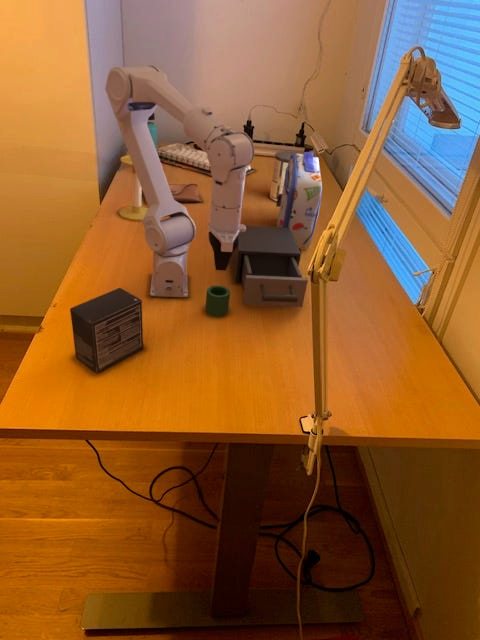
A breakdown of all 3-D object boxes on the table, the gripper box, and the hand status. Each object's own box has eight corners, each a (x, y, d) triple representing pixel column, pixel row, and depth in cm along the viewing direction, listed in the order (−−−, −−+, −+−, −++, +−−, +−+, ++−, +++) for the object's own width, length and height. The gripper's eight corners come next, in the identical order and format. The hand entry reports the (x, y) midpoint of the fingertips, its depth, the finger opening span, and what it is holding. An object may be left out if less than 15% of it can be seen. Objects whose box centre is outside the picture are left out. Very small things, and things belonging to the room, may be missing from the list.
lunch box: (274, 214, 151) (285, 141, 139) (307, 218, 151) (321, 145, 139) (273, 253, 128) (287, 169, 116) (313, 258, 128) (330, 175, 116)
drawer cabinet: (294, 286, 115) (301, 253, 110) (235, 283, 113) (238, 250, 108) (284, 257, 127) (289, 227, 122) (230, 255, 125) (233, 224, 120)
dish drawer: (307, 321, 101) (313, 294, 97) (245, 319, 99) (249, 291, 96) (290, 276, 117) (295, 251, 113) (237, 274, 115) (239, 248, 111)
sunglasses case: (146, 203, 147) (144, 180, 146) (142, 207, 154) (140, 185, 153) (204, 202, 153) (202, 180, 152) (198, 205, 159) (196, 184, 159)
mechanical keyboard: (255, 170, 187) (256, 161, 185) (230, 182, 173) (231, 173, 171) (174, 149, 201) (174, 140, 199) (145, 158, 186) (145, 149, 184)
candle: (161, 213, 143) (163, 92, 125) (139, 223, 135) (137, 96, 118) (135, 204, 147) (133, 85, 129) (111, 213, 139) (106, 89, 121)
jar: (229, 317, 101) (231, 297, 98) (205, 316, 100) (207, 296, 98) (227, 305, 105) (229, 285, 102) (204, 304, 104) (206, 284, 102)
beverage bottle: (136, 169, 173) (135, 109, 162) (154, 169, 176) (154, 109, 165) (141, 175, 169) (140, 114, 158) (160, 175, 171) (160, 114, 160)
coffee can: (291, 192, 171) (298, 150, 163) (305, 203, 163) (312, 160, 155) (264, 193, 167) (269, 150, 159) (277, 204, 159) (283, 160, 151)
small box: (121, 333, 93) (119, 285, 87) (145, 348, 90) (144, 299, 84) (73, 357, 86) (67, 306, 80) (97, 374, 82) (92, 323, 77)
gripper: (253, 219, 84) (244, 288, 92) (244, 190, 96) (237, 253, 104) (212, 217, 83) (206, 286, 91) (208, 188, 95) (203, 251, 103)
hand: (220, 268), depth 97 cm, fingers closed
